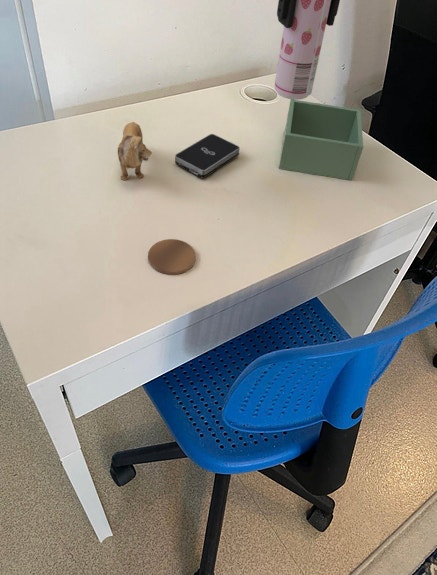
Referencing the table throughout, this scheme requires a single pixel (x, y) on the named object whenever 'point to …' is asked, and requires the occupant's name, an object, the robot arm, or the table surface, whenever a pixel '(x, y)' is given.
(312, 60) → the beverage can
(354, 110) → the crate
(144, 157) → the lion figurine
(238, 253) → the table surface
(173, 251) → the coaster
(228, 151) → the external hard drive
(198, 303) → the table surface
